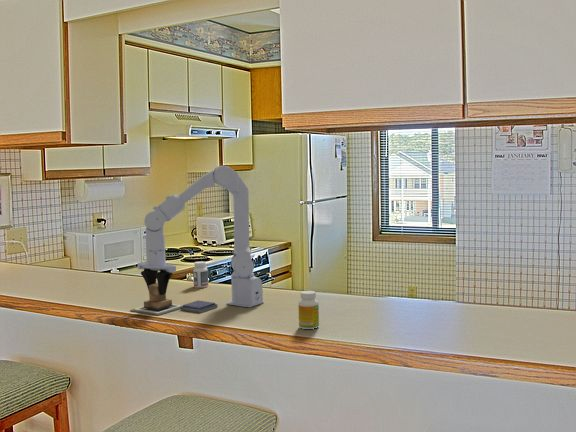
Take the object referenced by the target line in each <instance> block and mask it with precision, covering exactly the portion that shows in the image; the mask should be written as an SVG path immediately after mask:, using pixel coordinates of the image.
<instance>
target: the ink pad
mask: <svg viewBox="0 0 576 432" xmlns="http://www.w3.org/2000/svg"><path fill="white" fill-rule="evenodd" d="M181 306H182V307H181V309H180V311H184V310H185V311H184V312H190V311H191V312H192V313H199V314H202V313H205V312H208V311H211V310H213V309H217V308H218V303H216V302H210V301H206V300H199V299H198V300H195V301H191V302H188V303H185V304H183V305H181ZM191 312H190V313H191Z"/></svg>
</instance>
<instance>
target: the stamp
mask: <svg viewBox="0 0 576 432" xmlns="http://www.w3.org/2000/svg"><path fill="white" fill-rule="evenodd" d="M166 295H167V293H166V294H163V295H160V294H159V288H158V282H156V284H152V285H149V290H148V296H149V298H148V300H145V301H143V306H144V308H147V309H154V310H160V309H164V308H167V307H170V306H172V304H173V300H172V299H170V298H167V296H166Z"/></svg>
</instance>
